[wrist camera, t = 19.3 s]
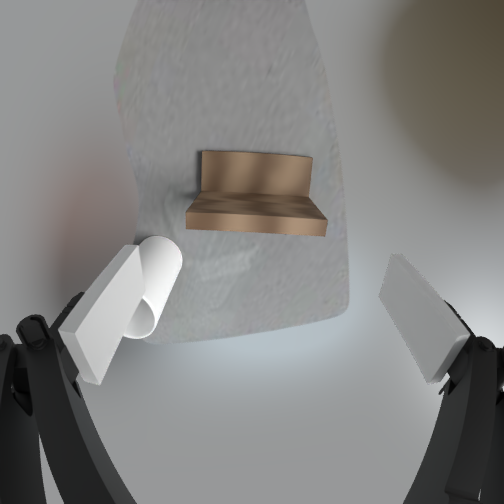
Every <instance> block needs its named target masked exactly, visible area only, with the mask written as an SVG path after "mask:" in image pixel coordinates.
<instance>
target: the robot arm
mask: <svg viewBox="0 0 504 504" xmlns="http://www.w3.org/2000/svg"><path fill="white" fill-rule="evenodd" d="M145 291H146V289H145V284H144V278H143V273H142V267H141V260H140V254H139V247H138V245H124V246H123V248H122V249H121V250H120V251H119V252H118V253H117V255H116V256H115V257H114V258H113V259H112V260H111V262H110V263H109V264H108V265H107V266H106V268H105V269H104V270H103V271H102V273H101V274H100V275H99V276H98V278H97V279H96V280H95V281H94V282H93V284H92V285H91V286H90V287H89V289H88V290H87V291H86V292H80V293H79V294H78V295H76V296H75V297H73V298H72V299H71V301H70V302H69V303H68V304H67V307H65V308H64V310H63V311H62V313H60V315H59V316H58V317H57V319H56V320H55V321H54V323H53V324H52V326H51V327H50V328H48V325H47V324H46V321H45V319H44V317H43V316H41V315H36V314H35V315H30V316H28V317H26V318H24V319H23V320H22V321H20V323H19V324H18V325H17V328H16V332H17V334H18V336H19V338H20V340H21V342H22V344H14V342H13V340H12V339H11V337H10V336H9V335H7V334H2V335H0V504H47V503H46V497H45V492H44V485H43V479H42V471H41V461H40V448H39V434H40V438H41V441H42V445H43V448H44V452H45V455H46V458H47V461H48V464H49V467H50V470H51V472H52V475H53V477H54V480H55V483H56V485H57V487H58V490H59V493H60V495H61V497H62V499H63V502H64V504H137V503H136V502H135V500H134V499H133V497H132V496H131V494H130V492H129V491H128V489H127V488H126V486H125V484H124V483H123V481H122V479H121V477H120V476H119V474H118V472H117V470H116V469H115V467H114V465H113V463H112V461H111V459H110V457H109V455H108V453H107V451H106V449H105V447H104V445H103V443H102V441H101V439H100V437H99V435H98V433H97V430H96V428H95V426H94V423H93V421H92V419H91V416H90V414H89V411H88V409H87V406H86V404H85V401H84V398H83V395H82V393H81V390H80V387H79V384H78V382H77V381H76V377H77V375H78V373H80V375H81V376H82V378H83V380H84V381H85V382H89V383H93V384H97V385H100V384H101V382H102V379H103V377H104V375H105V373H106V370H107V368H108V366H109V364H110V361H111V360H112V357H113V355H114V353H115V351H116V349H117V346H118V345H119V342H120V340H121V338H122V336H123V334H124V332H125V330H126V328H127V326H128V324H129V322H130V320H131V318H132V316H133V314H134V312H135V310H136V308H137V306H138V304H139V303H140V301H141V299H142V297H143V295H144V293H145ZM379 298H380V300H381V301H382V303H383V305H384V306H385V308H386V310H387V311H388V313H389V315H390V316H391V318H392V320H393V321H394V323H395V325H396V327H397V328H398V330H399V332H400V333H401V335H402V337H403V339H404V340H405V342H406V344H407V346H408V348H409V350H410V351H411V353H412V355H413V357H414V359H415V361H416V363H417V365H418V366H419V368H420V370H421V372H422V374H423V376H424V378H425V380H426V382H427V384H428V385H429V384H433V383H436V382H440V381H441V380H442V379H443V377H444V376H445V374H446V373H447V372H448V374H449V376H450V378H449V380H448V381H447V382H446V384H445V385H444V386H443V388H442V389H441V390H440V392H439V395H440V394H441V393H442V392H443V391H444V395H443V400H442V403H441V407H440V411H439V414H438V418H437V421H436V424H435V428H434V431H433V434H432V437H431V439H430V443H429V445H428V448H427V451H426V453H425V456H424V459H423V461H422V463H421V466H420V468H419V471H418V473H417V475H416V477H415V480H414V482H413V484H412V486H411V488H410V491H409V492H408V494H407V496H406V498H405V500H404V503H403V504H504V392H503V388H502V387H503V386H504V347H503V348H496V347H495V345H494V344H493V343H492V342H491V341H490V340H489V339H487V338H485V337H482V336H480V337H476V336H475V335H474V333H473V332H472V331H471V329H470V328H469V327H468V325H467V324H466V323H465V322H464V320H462V319H461V317H460V316H459V314H457V312H456V311H455V309H454V308H453V307H452V306H451V305H450V304H449V303H447V302H446V301H445V300H443V299H442V298H441V297H440V296H439V294H438V293H437V292H436V291H435V290H434V288H433V287H432V286H431V285H430V284H429V283H428V282H427V280H426V279H425V278H424V277H423V276H422V275H421V274H420V273H419V271H418V270H416V268H415V267H414V266H413V265H412V264H411V263H410V262H409V261H408V260H407V259H406V257H405V256H403V255H402V254H391V257H390V260H389V264H388V267H387V271H386V275H385V278H384V282H383V284H382V288H381V291H380V294H379ZM11 386H12V388H11ZM480 489H481V493H480ZM479 493H480V501H479V499H478V497H479Z"/></svg>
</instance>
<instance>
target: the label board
mask: <svg viewBox="0 0 504 504" xmlns="http://www.w3.org/2000/svg"><path fill="white" fill-rule="evenodd" d="M312 161H313V158H312V157H303V156H293V155H282V154H269V153H254V152H233V151H202V182H201V192H200V194H199V195H198V196H197V198H196V199H195V200H194V202H193V203H192V204H191V206H190V207H189V208H188V210H187V211H186V229H196V230H219V231H240V232H259V233H277V234H294V235H311V236H325V234H326V228H327V221H328V220H327V219H326V217H325V216H324V215H323V214H322V213H321V211H320V210H319V209H318V208H317V207H316V205H315V204H314V203H313V202H312V201H311V200H310V198H309V189H310V180H311V171H312Z"/></svg>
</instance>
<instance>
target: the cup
mask: <svg viewBox="0 0 504 504" xmlns="http://www.w3.org/2000/svg"><path fill="white" fill-rule="evenodd" d="M138 247H139V254H140V260H141V267H142V273H143V278H144V284H145V289H146V291H145V293H144V295H143V297H142V299H141V301H140V303H139V304H138V306H137V308H136V310H135V312H134V314H133V316H132V318H131V320H130V322H129V324H128V326H127V328H126V330H125V332H124V334H123V336H125V337H129V338H135V339H137V338H144V337H146V336H148V335H150V334H151V333H152V332H153V330H154V329H155V327H156V325H157V322H158V320H159V317H160V315H161V313H162V310H163V308H164V305H165V303H166V301H167V298H168V296H169V294H170V291H171V289H172V287H173V285H174V282H175V280H176V278H177V276H178V273H179V271H180V269H181V266H182V255H181V252H180V250H179V248H178V247H177V245H176V244H175V243H174V242H173V241H171V240H170V239H168V238H166V237H162V236H151V237H148V238H146V239H145V240H144V241H142V243H141V244H140V245H139V246H138Z"/></svg>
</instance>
